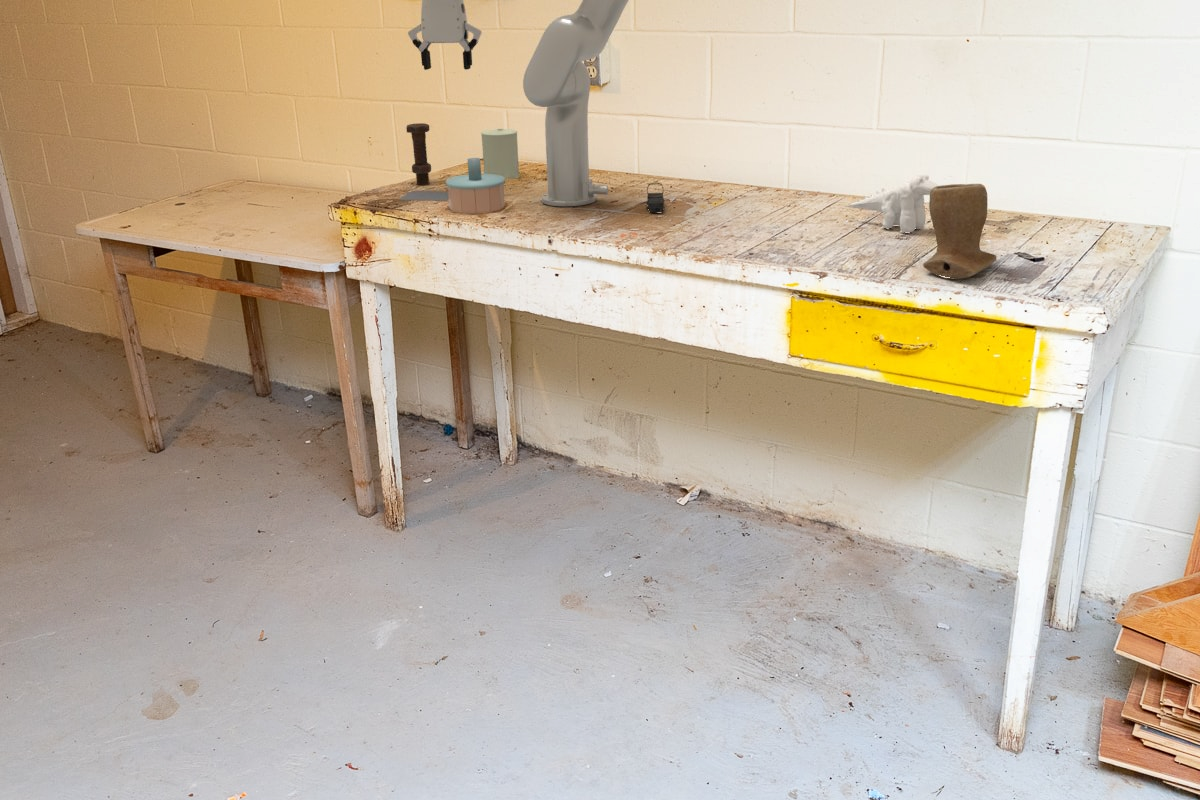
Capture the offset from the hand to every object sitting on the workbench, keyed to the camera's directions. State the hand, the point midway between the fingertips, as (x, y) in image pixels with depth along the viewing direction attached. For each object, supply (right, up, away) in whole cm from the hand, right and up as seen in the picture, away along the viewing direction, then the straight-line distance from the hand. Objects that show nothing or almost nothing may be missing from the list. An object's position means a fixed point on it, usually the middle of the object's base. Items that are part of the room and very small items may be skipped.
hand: (447, 69), depth 243 cm
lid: (+8, -29, -11) cm, 32 cm away
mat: (-5, -29, +4) cm, 30 cm away
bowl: (+8, -34, -9) cm, 36 cm away
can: (+10, -20, +25) cm, 34 cm away
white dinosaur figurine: (+95, -43, -33) cm, 109 cm away
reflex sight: (+48, -35, -12) cm, 61 cm away
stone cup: (+97, -55, -61) cm, 127 cm away
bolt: (-8, -24, +17) cm, 31 cm away
